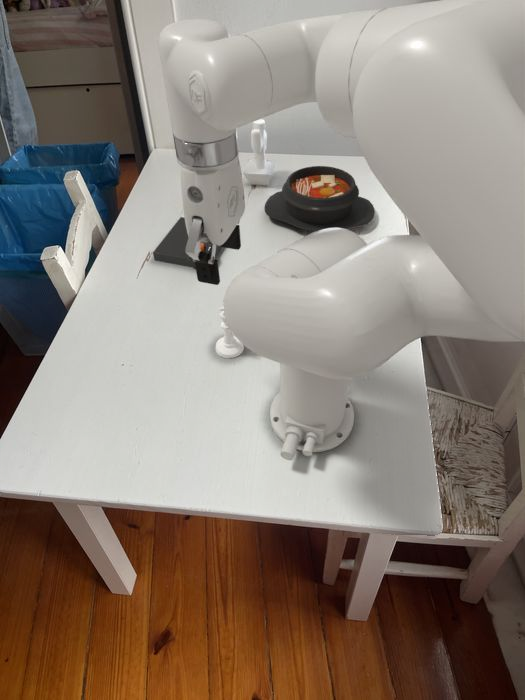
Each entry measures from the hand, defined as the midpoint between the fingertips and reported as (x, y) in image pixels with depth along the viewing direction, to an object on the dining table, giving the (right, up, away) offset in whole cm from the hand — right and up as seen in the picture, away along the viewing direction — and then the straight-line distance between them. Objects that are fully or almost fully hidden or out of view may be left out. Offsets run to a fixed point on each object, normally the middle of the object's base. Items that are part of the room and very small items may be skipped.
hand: (220, 263), depth 71 cm
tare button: (-7, +8, +28) cm, 30 cm away
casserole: (+19, +18, +41) cm, 49 cm away
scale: (-9, +10, +34) cm, 36 cm away
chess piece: (+1, -12, +13) cm, 18 cm away
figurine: (+6, +30, +53) cm, 61 cm away
